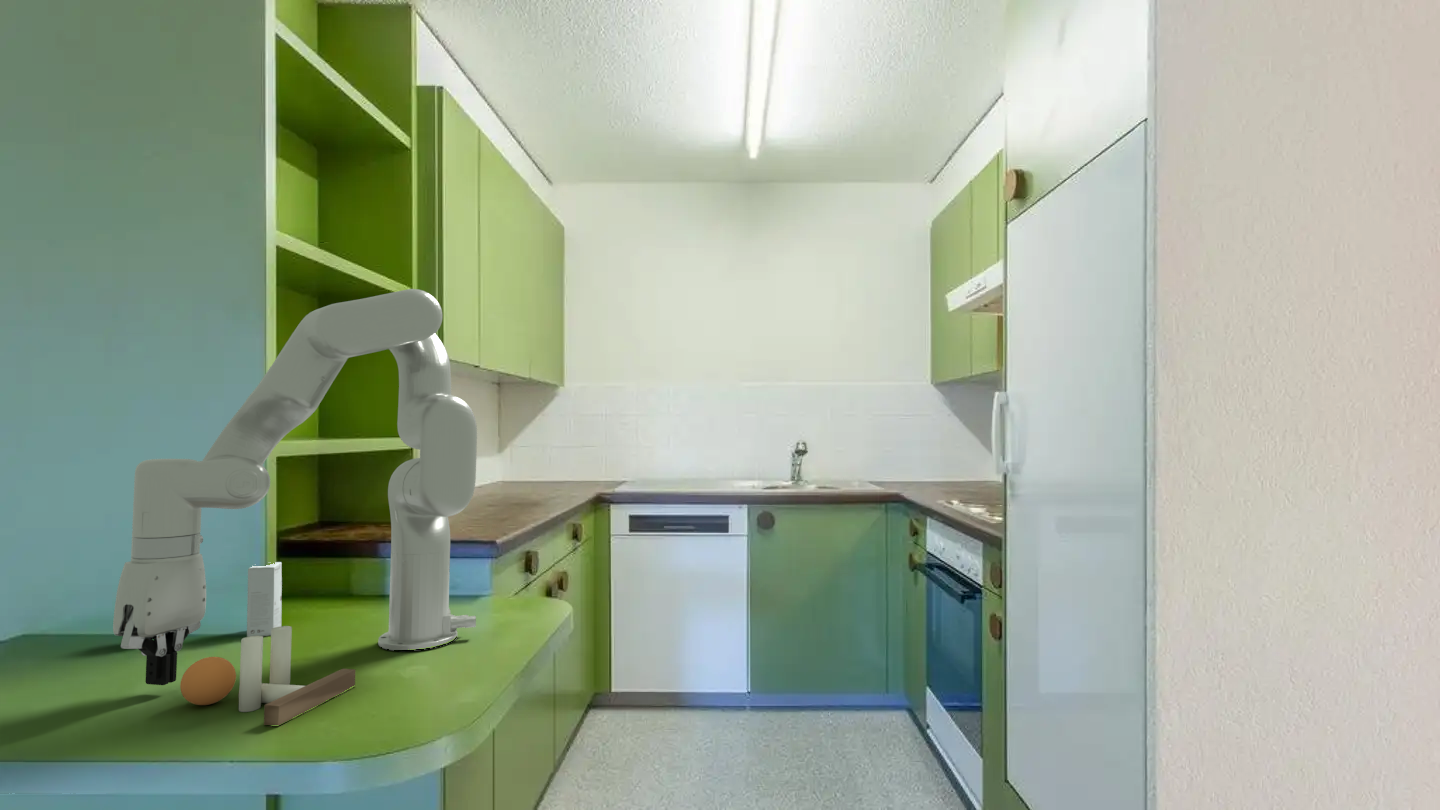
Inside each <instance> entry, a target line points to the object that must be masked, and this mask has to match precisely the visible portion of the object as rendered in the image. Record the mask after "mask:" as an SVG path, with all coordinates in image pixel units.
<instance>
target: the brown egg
mask: <svg viewBox="0 0 1440 810" xmlns="http://www.w3.org/2000/svg"><path fill="white" fill-rule="evenodd" d="M236 680H237V673H236V669H235V667H234V665H233V664H232V663H231V662H230V661H229V660H228V659H226V658H224V657H220V656H207V657H204V658H200V659H199V660H197V661H195V662H194V663H192V664H191V665H190V666H189V667H188V668H187V669H185V672H184V673H183V675H182V676H181V679H180V684H179V687H180V693H181V695H182V696H183V698H184V699H185V700H186V701H187V702H188V703H190V704H193V705H196V706H208V705H213V704H215V703H217V702H220V701H221V700H223V699H224V698H226V697H227V696H228V694H229V693H230V692H231V691H232V690H233V687H234V686H235V683H236Z"/></svg>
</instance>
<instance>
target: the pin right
mask: <svg viewBox="0 0 1440 810" xmlns="http://www.w3.org/2000/svg"><path fill="white" fill-rule="evenodd" d="M292 631H293V627H292V626H289V625H283V626H282V625H281V626H280V627H275V628H272V629H271V635H270V658H269V659H270V661H269V684H284V685H291V662H292V633H293V632H292Z"/></svg>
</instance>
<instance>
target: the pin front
mask: <svg viewBox="0 0 1440 810" xmlns="http://www.w3.org/2000/svg"><path fill="white" fill-rule="evenodd" d="M304 686H305V685H300V684H297V685H296V684H290V685H284V684H270V683H266V682H265V683H264V682H262V683H261V704H268V703H270V702H272V701H274V700H276V699H279V698H281V697H283V696H285V695H287V694H289V693H291V692H294V691H296V690H298V689H300V688H302V687H304ZM237 698H239V693H238V697H237Z"/></svg>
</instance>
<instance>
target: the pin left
mask: <svg viewBox="0 0 1440 810" xmlns="http://www.w3.org/2000/svg"><path fill="white" fill-rule="evenodd" d="M240 641H241V642H240V661H239V662H240V663H239V664H240V666H239V690H238V694H239V697H238V712H241V713H247V712H253V711H257V710H259V709H260V708H261V707H262V706H261V705H262V703H261V683H263V682H262V679H263V678H262V677H263V652H264V636H250V637H248V636H246V637H243V638H241V640H240Z"/></svg>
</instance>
